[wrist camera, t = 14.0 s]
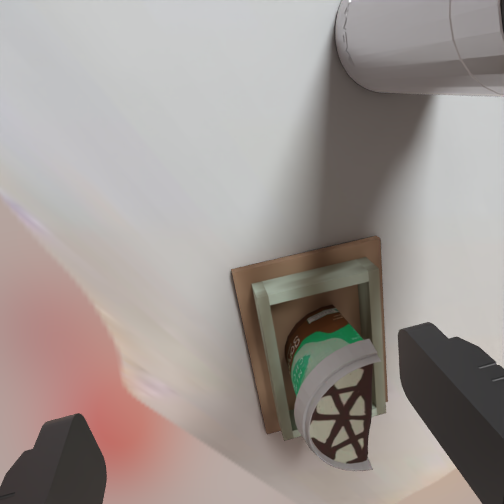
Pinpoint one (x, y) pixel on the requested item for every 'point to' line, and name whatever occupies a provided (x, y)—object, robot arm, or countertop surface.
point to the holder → (300, 304)
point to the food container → (332, 387)
